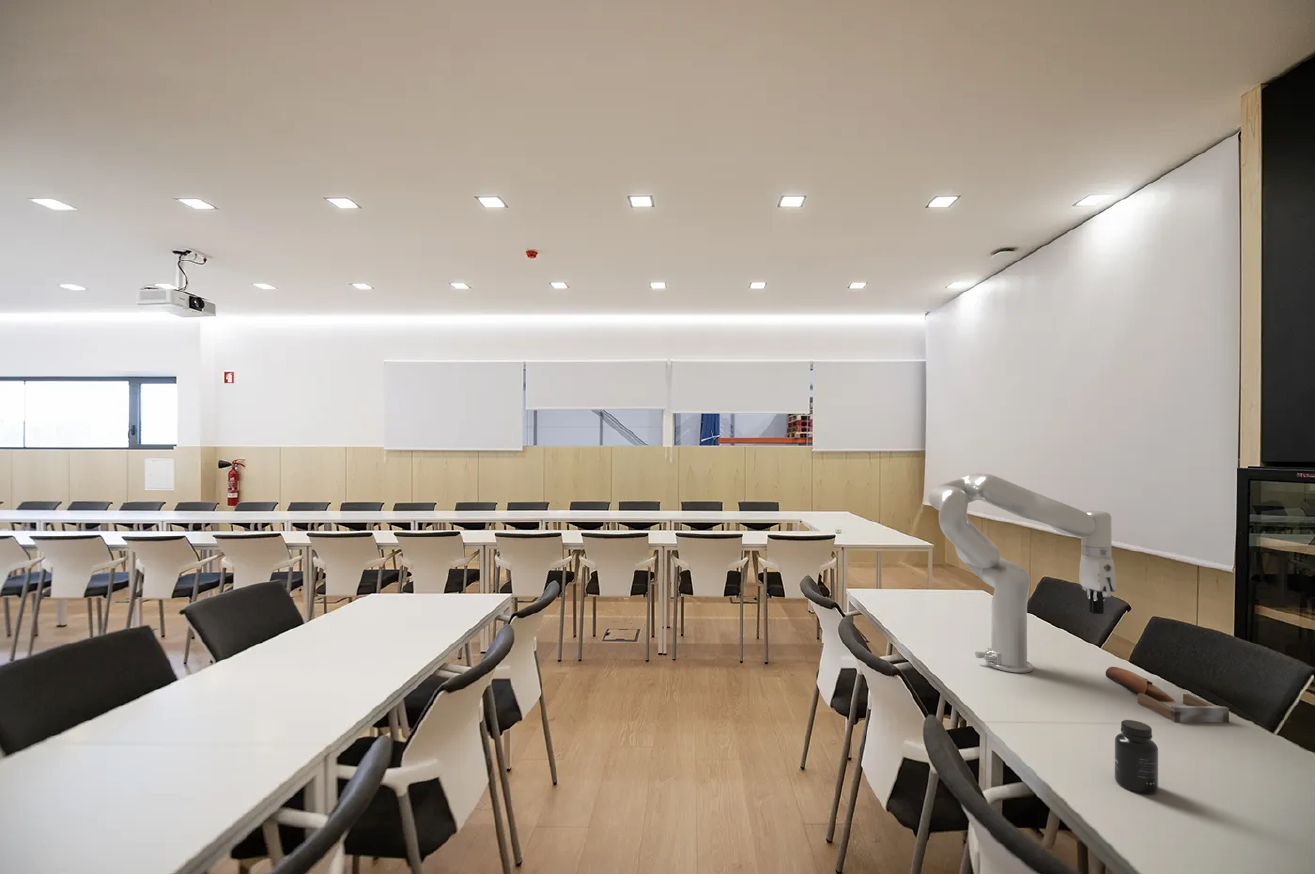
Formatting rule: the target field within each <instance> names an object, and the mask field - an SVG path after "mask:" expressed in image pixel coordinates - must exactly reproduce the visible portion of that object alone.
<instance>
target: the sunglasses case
mask: <svg viewBox="0 0 1315 874" xmlns="http://www.w3.org/2000/svg"><path fill="white" fill-rule="evenodd" d="M1105 676H1106V677H1107V678H1109V679H1112V680H1113V681H1116V682H1117V683H1120V684H1121V685H1123V686H1124V687H1125V688H1127V689H1129V690H1131V691H1132V692H1134V693H1135V694H1137V695H1138V693H1143V694H1145V695H1147V696H1149V697H1152V698H1154V699H1156V700H1158V701H1160V702H1162V703H1163V702H1164V703H1165V702H1166V703H1176V701H1175V699H1174V698H1173V697H1171V696H1170V695H1169V694H1167V693H1166V692H1165V691H1164V690H1162V688H1159V687H1157V686H1156V685H1154V684H1153V682H1152V681H1150V680H1148V679H1147V678H1145V677H1143V676H1142V675H1139V674H1136V673H1135V672H1132V671H1130V670H1128V669H1124V668H1122V667H1117V666H1110V667H1108V668H1107V669H1105Z"/></svg>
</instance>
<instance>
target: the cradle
mask: <svg viewBox="0 0 1315 874" xmlns="http://www.w3.org/2000/svg"><path fill="white" fill-rule="evenodd" d="M1137 703H1138V704H1139V705H1141V706H1143V707H1145V708H1147V709H1149V710H1151V711H1152V712H1154V713H1156V714H1159V715H1160V716H1162V717H1164V718H1166V719H1168V720H1170V721H1172V722H1174V723H1204V722H1229V723H1230V708H1229V707H1227V706H1223V705H1218V706H1217V705H1215V704H1212V703H1209V702H1207V701H1205V700H1202V699H1201V698H1199V697H1196V696H1194V695H1192V694H1189V693H1182V704H1184V705H1170V706H1169V705H1167V704H1165V702H1164V703H1163V702H1160V701H1158V700H1156V699H1154V698H1152V697H1149V696H1147V695H1145V694H1143V693H1138V694H1137Z"/></svg>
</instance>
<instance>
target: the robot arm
mask: <svg viewBox="0 0 1315 874" xmlns="http://www.w3.org/2000/svg"><path fill="white" fill-rule="evenodd" d="M974 501H983V502H984V503H987V504H990V505H992V506H994V507H997V508H999V509H1001V510H1004V511H1006V512H1008V513H1011V514H1013V515H1015V516H1018V517H1021V518H1022V519H1023V518H1024V519H1026V520H1031V521H1034V522H1039V523H1042V524H1045V525H1049V526H1050V527H1052V529H1053V530H1055V531H1056V532H1058V533H1060V534H1064V535H1068V536H1072V537H1076V538H1080V539H1081V540H1080V541H1081V542H1080V543H1081V544H1080V546H1081V547H1080V548H1081V549H1080V550H1081V551H1080V552H1081V554H1080V555H1081V557H1080V561H1079V570H1078V572H1079V574H1078V575H1079V576H1078V578H1079V584H1080V586H1081V589H1082V590H1083V591H1085V593H1086V594H1087V598H1088V612H1089V613H1091V614H1095V615H1103V614H1105V613H1104V611H1105V609H1104V605H1105V604H1104V602H1105V601H1106V598H1111V597H1112V593H1115V592H1116V590H1117V579H1116V578H1117V575H1116V570H1115V569H1116V568H1115V563H1114V562H1115V561H1114V559H1113V558H1112V516H1111V514H1110V513H1109V512H1107V511H1103V510H1102V511H1101V510H1085V511H1083V510H1080V509H1079V508H1076V507H1073V506H1071V505H1070V504H1066V503H1064V502H1062V501H1058V500H1056V499H1053V498H1049V497H1047V496H1045V495H1044V494H1043V495H1042V494H1041V493H1038V492H1036V491H1032V490H1030V489H1027V488H1025V487H1022V486H1021V485H1017V484H1016V483H1012V482H1010V481H1008V480H1006V479H1004V478H1001V477H999V476H996V475H993V474H990V473H981V472H979V473H978V472H977V473H976V472H975V473H971V474H969V475H965V476H962V477H959V478H956V479H953V480H949V481H947V482H944V483H940V484H938V485H936V486H934V487H933V488H932V489H931V490H930V492H929V494H928V502H929V504H930V505H931V507H932V508H934V509H935V510H937V511H938V523H939V527H940V530H941V532H942V534H943V535H944V536H945V538H946V539H948V541H949V542H951V544H953V546H954V547H955V553H956V555H957V556H958V559H960V560H961V562H963V564H965V566H967V567H968V568H969V569H970V570H971V571H972V572H974V573H975V575H977V576H978V578H979V579H981V580H982V581H983V582H984V583H985V584H986V585H989V586H990V587H992V588H994V591H993V595H992V598H991V606H990V607H991V611H990V612H991V644H990V645H991V647H988V648H987V650H985V651H975V653H974V654H975V658H976V659H983V660H985V663H986V665H988V666H989V667H991V668H994V669H996V670H1000V671H1005V672H1008V673H1009V672H1010V673H1022V674H1024V673H1030V672H1032V671H1033V670H1034V665H1033V664H1032V663H1031V662H1029V661H1028V600H1029V593H1030V589H1031V579H1030V575H1029V573H1028V572H1027V570H1026V569H1025V568H1024V567H1023V566H1021V565H1020V564H1018V563H1016V562H1013V561H1011V560H1008V559H1005V558H1003V557H1002V556H1001V555H1000V554H1001V553H1000V551H999V548H998V547H997V545H996V544H995V543H994V542H993V540H991V539H990V538H988V537H987V535H985V534H984V533H983V532H982V531H980V529H978V528H977V527H976V526H975V524H973V523H972V522H971V520H970V518H969V516H968V507H969V506H968V505H969V503H972V502H974Z"/></svg>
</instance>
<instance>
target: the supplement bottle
mask: <svg viewBox="0 0 1315 874" xmlns="http://www.w3.org/2000/svg"><path fill="white" fill-rule="evenodd" d="M1152 730H1153V729H1152V727H1151V726H1150V725H1148V724H1147V723H1144V722H1142V721H1137V720H1133V719H1124V720H1121V722H1120V732H1121V733H1119V734H1116V736H1115V738H1114V780H1115V782H1116V783H1117V785H1119V786H1120V787H1121V788H1124V789H1126V790H1127V791H1130V792H1133V793H1136V794H1141V795H1155V794H1156V793H1157V792H1158V791H1159V747H1158V745H1157V744H1156V743H1155V741H1153V740H1152V739H1153V733H1152V732H1153V731H1152Z"/></svg>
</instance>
